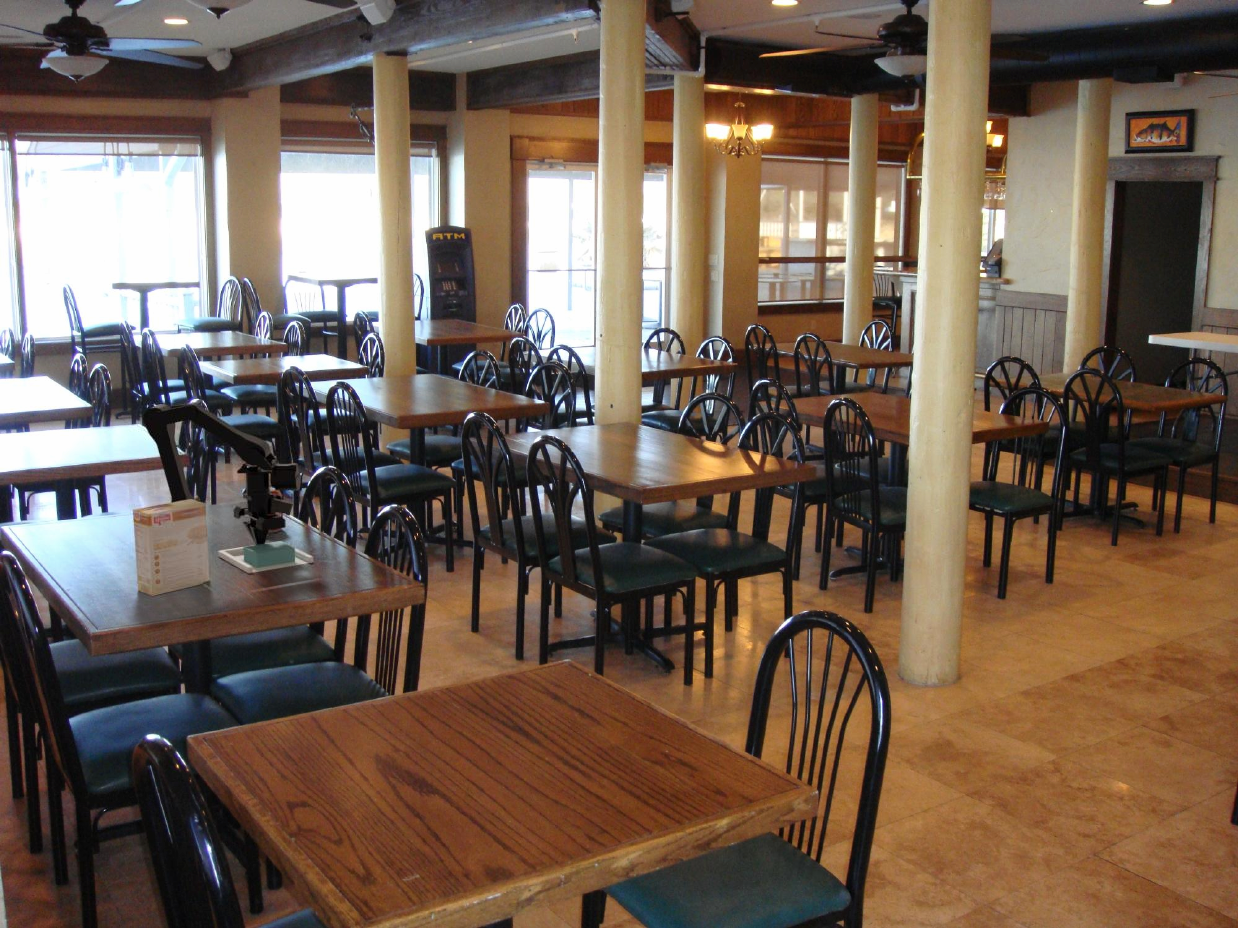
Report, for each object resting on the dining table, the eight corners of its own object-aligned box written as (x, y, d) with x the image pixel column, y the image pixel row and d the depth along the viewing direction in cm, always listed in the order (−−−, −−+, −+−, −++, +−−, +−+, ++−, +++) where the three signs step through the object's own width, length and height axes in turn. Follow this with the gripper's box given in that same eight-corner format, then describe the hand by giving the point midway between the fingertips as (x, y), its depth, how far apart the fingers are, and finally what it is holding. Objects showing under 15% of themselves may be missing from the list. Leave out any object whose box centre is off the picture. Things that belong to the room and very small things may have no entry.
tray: (248, 575, 295) (248, 567, 294) (218, 558, 309) (217, 550, 309) (313, 564, 305) (313, 556, 305) (281, 548, 320) (281, 540, 319)
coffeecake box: (194, 577, 293) (190, 498, 289) (211, 582, 288) (207, 502, 285) (136, 590, 281) (131, 508, 278) (152, 596, 277) (148, 513, 273)
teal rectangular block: (257, 568, 299) (256, 553, 298) (244, 560, 305) (243, 547, 304) (295, 561, 305) (294, 547, 305) (281, 554, 311) (281, 541, 311)
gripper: (304, 492, 304) (306, 552, 307) (272, 480, 318) (274, 537, 321) (261, 498, 297) (264, 559, 300) (231, 485, 311) (234, 544, 314)
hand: (260, 549), depth 309 cm, fingers closed
